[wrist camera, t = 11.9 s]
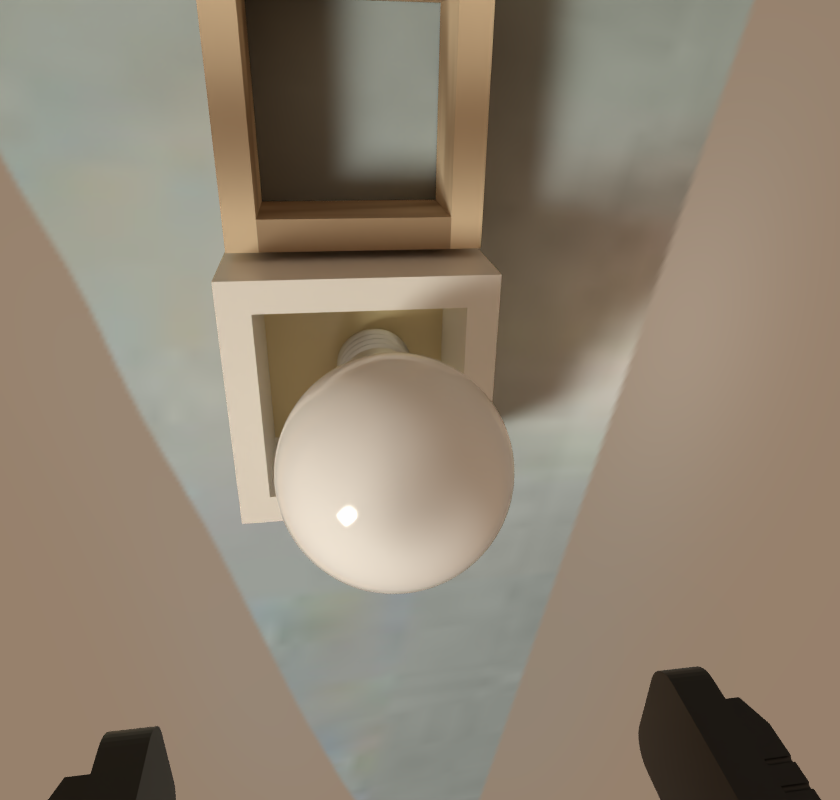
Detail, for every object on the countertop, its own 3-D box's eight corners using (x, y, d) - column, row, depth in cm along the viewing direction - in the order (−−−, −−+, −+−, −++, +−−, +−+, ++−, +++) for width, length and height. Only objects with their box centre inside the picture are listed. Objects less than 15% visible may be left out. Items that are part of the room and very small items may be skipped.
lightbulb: (483, 306, 25) (594, 469, 15) (418, 448, 27) (476, 667, 17) (318, 246, 23) (321, 387, 13) (263, 403, 25) (231, 622, 15)
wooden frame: (205, -45, 19) (189, -62, 17) (473, -34, 21) (498, -49, 18) (235, 231, 23) (225, 253, 20) (461, 227, 24) (480, 248, 22)
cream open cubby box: (230, 240, 23) (211, 281, 19) (467, 236, 24) (501, 274, 20) (253, 448, 27) (242, 523, 23) (457, 436, 28) (484, 505, 24)
